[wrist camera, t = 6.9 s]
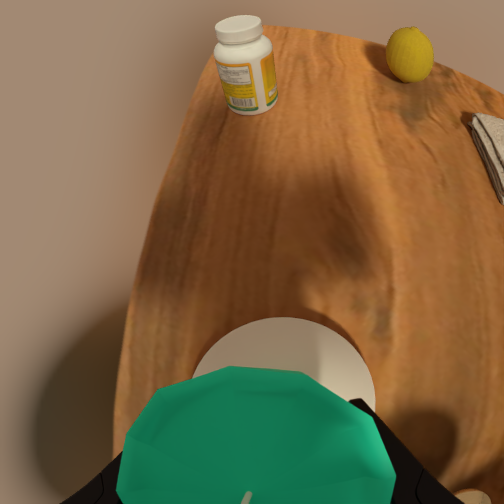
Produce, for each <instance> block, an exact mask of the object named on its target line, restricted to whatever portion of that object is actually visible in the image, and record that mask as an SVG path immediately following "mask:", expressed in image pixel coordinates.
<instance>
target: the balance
mask: <svg viewBox="0 0 504 504" xmlns="http://www.w3.org/2000/svg"><path fill="white" fill-rule="evenodd" d="M452 494H453V495H455V496H456V497H457V498H458V499H460V500H461V501H462V502H464V503H465V504H491V500H490V498H489V496H488V495H487V494H485V493H483V492H482V491H480V490H477V489H464V490H460V491H457V492H454V493H452Z"/></svg>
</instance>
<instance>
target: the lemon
mask: <svg viewBox="0 0 504 504" xmlns="http://www.w3.org/2000/svg"><path fill="white" fill-rule="evenodd" d="M386 61H387V64H388V67H389V69H390V70H391V72H392V73H393V74H394V75H395V76H396V77H398V78H399V79H400V80H401V81H402V82H403V83H407V82H410V83H415V82H419V81H422V80H423V79H425V78H426V77H427V76H428V74H429V73H430V71H431V69H432V66H433V61H434V54H433V47H432V44H431V42H430V40H429V39H428V38H427V36H426V35H424V34H423V33H422V32H421V31H419V29H418V28H417V27H411V28H408V27H405V28H401V29H399V30H396V31H395V32H394V33H393V34H392V36H391V37H390V39H389V41H388V43H387V47H386Z"/></svg>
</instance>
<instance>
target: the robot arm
mask: <svg viewBox="0 0 504 504" xmlns="http://www.w3.org/2000/svg"><path fill="white" fill-rule="evenodd" d="M348 402H349V403H351V404H352V405H354V406H355V407H357V408H358V409H360V410H362V411H363V412H365V413H367V414H368V415H370V416H371V417H372V418H373V420H374V423H375V425H376V427H377V430H378V432H379V434H380V437H381V439H382V442H383V444H384V446H385V449H386V451H387V454H388V456H389V459H390V461H391V464H392V466H393V469H394V471H395V474H396V480H395V484H394V489H393V493H392V498H391V502H390V504H465V503H464V502H462V501H461V500H460V499H458V498H457V497H456V496H455V495H453V494H452V493H451V492H450V491H448V490H447V489H446V488H445V487H444V486H443V485H441V484H440V483H439V482H438V481H437V480H436V479H435V478H434V477H433V476H432V475H431V474H430V473H429V471H428V470H427V469H426V468H423V467H424V466H423V465H422V464H421V463H420V462H419V461H418V460H417V459H416V457H415V456H414V455H413V454H412V453H411V452H410V451H409V450H408V449H407V448H406V446H405V445H404V444H403V443H402V442H401V441H400V440H399V439H398V438H397V437H396V436H395V434H394V433H393V432H392V431H391V430H390V429H389V428H388V427H387V426H386V424H385V423H384V422H383V421H382V420H381V419H380V418H379V417H378V416H377V414H376V413H375V412H374V411H373V410H372V409H371V408H370V407H369V406H368V404H367V403H366V402H365V401H364V400H363V399H362V398H356V399H350V400H349V401H348ZM122 453H123V451H122V452H121V453H120V454H119V455H118V456H117V457H116V458H115V459H114V460H113V461H112V462H111V463H109V464H108V465H107V466H106V467H105V468H104V469H103V470H102V471H101V473H99V474H98V475H97V476H95V477H94V478H93V479H92V480H91V481H90V482H89V483H87V484H86V485H85V486H84V487H83V488H81V489H80V490H79V491H77V492H76V493H75V494H73V495H72V496H70V497H69V498H67V499H66V500H64V501H63V502H62V503H60V504H123V503H122V501H121V499H120V497H119V495H118V494H117V492H116V487H117V481H118V475H119V469H120V464H121V458H122Z"/></svg>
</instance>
